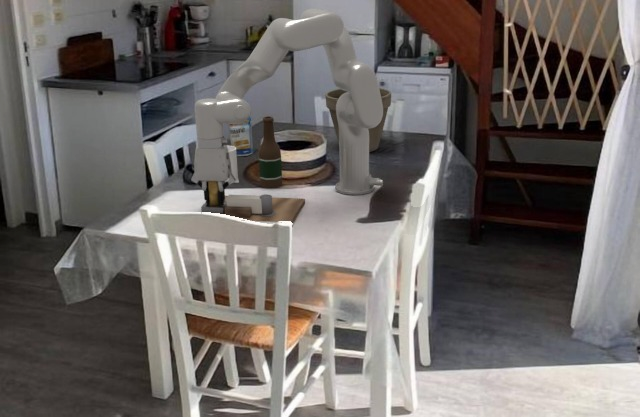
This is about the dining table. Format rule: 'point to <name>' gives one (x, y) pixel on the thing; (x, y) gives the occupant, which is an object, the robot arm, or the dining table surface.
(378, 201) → the dining table surface
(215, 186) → the pin
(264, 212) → the handle
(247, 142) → the beverage bottle
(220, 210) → the collar
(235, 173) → the mug
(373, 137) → the plant pot
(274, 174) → the beer bottle
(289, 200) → the board
